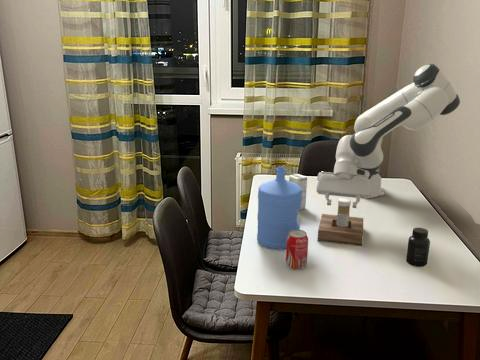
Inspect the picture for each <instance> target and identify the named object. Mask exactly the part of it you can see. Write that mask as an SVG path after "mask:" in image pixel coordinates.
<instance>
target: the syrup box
mask: <svg viewBox="0 0 480 360" xmlns="http://www.w3.org/2000/svg"><path fill="white" fill-rule="evenodd" d="M288 177H289V178H288V181H290V182H292V183H294V184H297V185H299V186H300V187H301V189H302V201H301V208H300V209H299V210H298V211H300V210H303V209H306V207H307V206H306V205H307V203H306V202H307V189H308V176H306V175H302V174H299V173H294V174H291V175H289V176H288Z"/></svg>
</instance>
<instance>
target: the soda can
mask: <svg viewBox="0 0 480 360" xmlns="http://www.w3.org/2000/svg"><path fill="white" fill-rule="evenodd" d="M308 253H309V238H308V235H307V232H306V231H305V230H302V229H300V230H291V231H290V232H289V235H288V236H287V242H286V250H285V265H286V266H287V267H288V268H289V269H291V270H295V271H299V270H302V269H305V268H306V267H307V264H308V263H307V262H308Z"/></svg>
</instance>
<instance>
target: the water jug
mask: <svg viewBox="0 0 480 360" xmlns="http://www.w3.org/2000/svg"><path fill="white" fill-rule="evenodd" d="M275 169H276V172H275V175H276V177H275V179H272V180H269V181H265V182H264V183H261V184H260V185H259V186H258V191H257V198H258V199H257V203H258V204H257V233H256V240H257V243H258V244H260V246H262V247H264V248H266V249H270V250H277V251H284V250H285V251H286V242H287V236H288V235H289V232H290V231H291V230H301V225H300V222H299V220H298V212H299V211H300V210H299V209H300V208H301V201H302V189H301V187H300V186H299V185H297V184H294V183H292V182H290V181H289V180H288V179H286V167H276V168H275Z"/></svg>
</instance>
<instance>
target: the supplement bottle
mask: <svg viewBox="0 0 480 360" xmlns="http://www.w3.org/2000/svg"><path fill="white" fill-rule="evenodd" d="M407 241H408V243H407V250H406V257H405V260H406V263H407V264H409V266H412V267H416V268H423V267H426V266H427V265H428V261H429V260H428V259H429V255H430V254H429V253H430V248H431V247H430V246H431V240H430V238H429V230H428V229H427V228H424V227H414V228H413V229H412V234H411V235H410V236H409V237H408V240H407Z"/></svg>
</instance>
